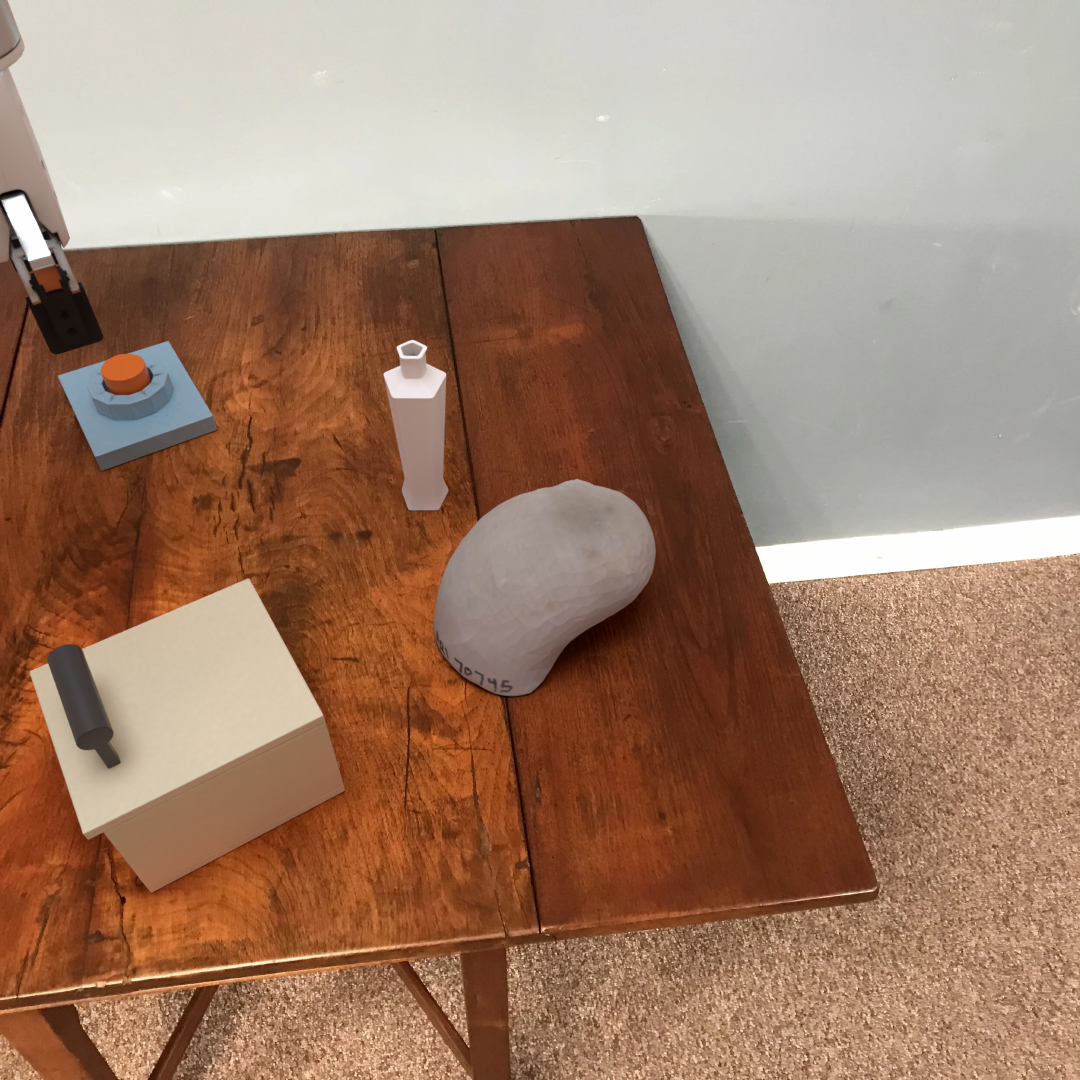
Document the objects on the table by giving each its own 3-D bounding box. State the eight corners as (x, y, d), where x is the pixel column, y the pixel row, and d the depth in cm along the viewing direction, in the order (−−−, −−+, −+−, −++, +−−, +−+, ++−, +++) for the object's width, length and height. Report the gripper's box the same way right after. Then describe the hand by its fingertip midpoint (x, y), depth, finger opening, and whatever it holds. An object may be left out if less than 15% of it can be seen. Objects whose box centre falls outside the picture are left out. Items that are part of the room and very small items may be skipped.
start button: (113, 401, 79) (107, 385, 78) (101, 377, 81) (95, 361, 80) (156, 387, 81) (150, 371, 79) (143, 364, 83) (137, 348, 81)
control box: (101, 471, 78) (87, 440, 76) (64, 390, 85) (49, 359, 82) (217, 430, 82) (207, 399, 79) (173, 355, 89) (163, 324, 86)
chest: (151, 893, 56) (103, 833, 49) (96, 744, 62) (47, 672, 56) (345, 790, 61) (325, 722, 54) (276, 661, 67) (251, 585, 60)
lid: (87, 840, 49) (52, 798, 45) (33, 678, 55) (-2, 629, 51) (325, 722, 54) (312, 675, 50) (251, 585, 60) (234, 534, 56)
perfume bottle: (453, 474, 79) (445, 329, 68) (451, 513, 77) (443, 367, 65) (398, 474, 79) (381, 328, 68) (395, 513, 76) (376, 367, 65)
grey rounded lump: (630, 665, 76) (668, 484, 72) (622, 736, 62) (667, 518, 59) (448, 627, 77) (477, 448, 74) (401, 688, 64) (433, 472, 60)
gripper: (-166, -18, 52) (-28, 254, 65) (-121, 114, 42) (29, 400, 55) (-21, -41, 54) (83, 225, 67) (51, 78, 45) (155, 360, 58)
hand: (58, 304), depth 61 cm, fingers open, 9 cm apart
